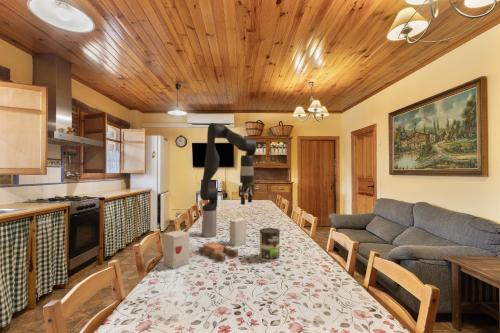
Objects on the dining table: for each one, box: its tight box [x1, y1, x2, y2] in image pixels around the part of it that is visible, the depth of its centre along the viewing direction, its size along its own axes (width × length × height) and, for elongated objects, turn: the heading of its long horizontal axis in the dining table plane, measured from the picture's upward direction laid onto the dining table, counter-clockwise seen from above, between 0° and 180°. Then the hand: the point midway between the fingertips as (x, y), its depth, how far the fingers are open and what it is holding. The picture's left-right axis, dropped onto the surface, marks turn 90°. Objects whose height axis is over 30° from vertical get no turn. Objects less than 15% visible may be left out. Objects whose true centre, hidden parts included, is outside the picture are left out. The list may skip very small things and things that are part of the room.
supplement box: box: [162, 230, 190, 270], centre depth 123 cm, size 9×9×15 cm
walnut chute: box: [198, 246, 239, 262], centre depth 137 cm, size 20×11×4 cm, turn 46°
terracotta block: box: [202, 241, 225, 254], centre depth 139 cm, size 10×6×4 cm, turn 46°
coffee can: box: [259, 227, 281, 262], centre depth 133 cm, size 10×10×14 cm
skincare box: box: [229, 217, 247, 247], centre depth 155 cm, size 8×6×15 cm
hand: (246, 203), depth 145 cm, fingers open, 8 cm apart
